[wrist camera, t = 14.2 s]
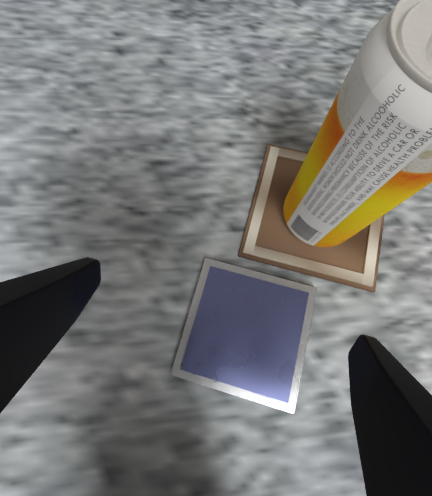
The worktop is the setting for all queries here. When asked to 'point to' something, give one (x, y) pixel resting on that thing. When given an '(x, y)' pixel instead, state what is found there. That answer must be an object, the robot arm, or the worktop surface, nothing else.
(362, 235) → the marked square
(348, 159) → the beer can
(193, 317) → the ink pad
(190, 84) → the worktop surface
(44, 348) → the robot arm
